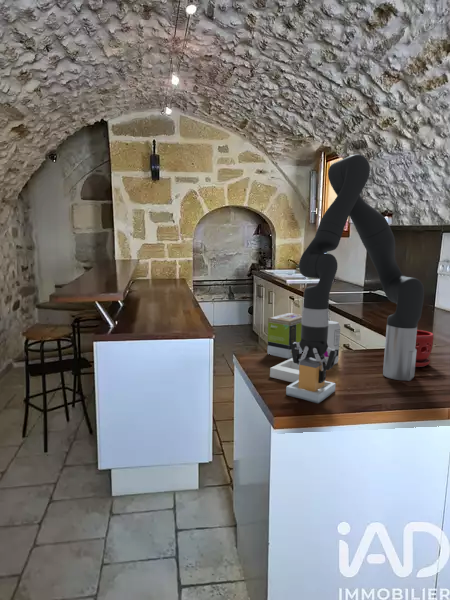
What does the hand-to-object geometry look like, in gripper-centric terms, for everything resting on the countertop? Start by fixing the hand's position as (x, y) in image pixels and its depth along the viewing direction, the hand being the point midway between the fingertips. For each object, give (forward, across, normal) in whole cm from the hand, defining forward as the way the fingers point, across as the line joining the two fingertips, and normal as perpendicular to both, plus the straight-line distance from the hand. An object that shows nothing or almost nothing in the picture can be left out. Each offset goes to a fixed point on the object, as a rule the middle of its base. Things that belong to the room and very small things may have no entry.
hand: (311, 380), depth 126 cm
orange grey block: (+2, 0, 0) cm, 2 cm away
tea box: (+4, +26, -35) cm, 44 cm away
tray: (+4, 0, 0) cm, 4 cm away
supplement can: (+4, +9, -33) cm, 34 cm away
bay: (+4, +11, -13) cm, 18 cm away
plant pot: (+4, -16, -52) cm, 55 cm away
